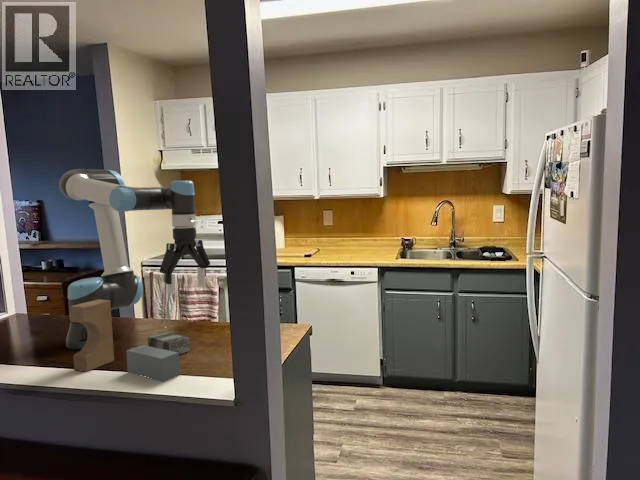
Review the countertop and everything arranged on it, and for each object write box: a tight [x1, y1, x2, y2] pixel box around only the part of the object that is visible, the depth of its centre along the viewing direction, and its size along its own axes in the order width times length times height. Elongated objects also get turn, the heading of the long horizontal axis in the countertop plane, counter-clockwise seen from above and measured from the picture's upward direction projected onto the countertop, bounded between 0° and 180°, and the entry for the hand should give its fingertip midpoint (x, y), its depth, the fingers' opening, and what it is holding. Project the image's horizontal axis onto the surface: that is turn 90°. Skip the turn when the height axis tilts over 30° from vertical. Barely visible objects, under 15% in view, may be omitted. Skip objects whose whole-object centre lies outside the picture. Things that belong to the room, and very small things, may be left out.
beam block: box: [125, 344, 181, 383], centre depth 145 cm, size 16×6×7 cm, turn 57°
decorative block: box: [69, 299, 115, 372], centre depth 153 cm, size 11×6×20 cm, turn 154°
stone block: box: [147, 332, 192, 355], centre depth 168 cm, size 9×14×5 cm, turn 47°
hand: (187, 290), depth 165 cm, fingers open, 13 cm apart
